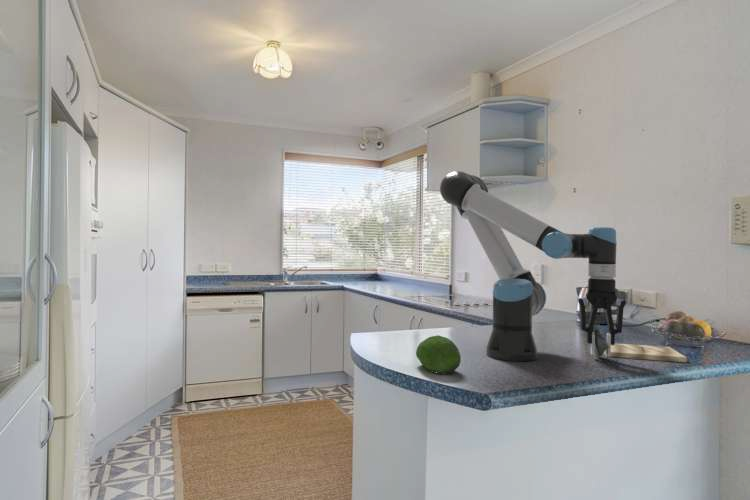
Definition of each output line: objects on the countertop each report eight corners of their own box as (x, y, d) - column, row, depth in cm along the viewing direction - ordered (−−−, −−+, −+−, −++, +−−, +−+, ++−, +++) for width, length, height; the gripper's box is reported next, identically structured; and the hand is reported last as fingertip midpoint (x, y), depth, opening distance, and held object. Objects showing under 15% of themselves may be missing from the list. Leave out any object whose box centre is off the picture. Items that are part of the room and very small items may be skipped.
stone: (609, 364, 138) (611, 330, 138) (595, 363, 139) (597, 329, 139) (602, 356, 148) (604, 325, 148) (589, 355, 149) (590, 323, 149)
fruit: (407, 367, 131) (407, 331, 131) (438, 364, 134) (439, 329, 134) (433, 381, 117) (434, 341, 117) (467, 378, 120) (468, 339, 120)
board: (606, 356, 148) (607, 351, 148) (597, 346, 164) (597, 342, 164) (686, 362, 142) (686, 357, 142) (669, 351, 158) (669, 346, 158)
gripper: (573, 277, 142) (572, 355, 142) (635, 279, 137) (634, 359, 137) (570, 276, 149) (569, 350, 149) (629, 278, 144) (627, 354, 145)
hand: (600, 354), depth 143 cm, fingers closed on stone, 4 cm apart
